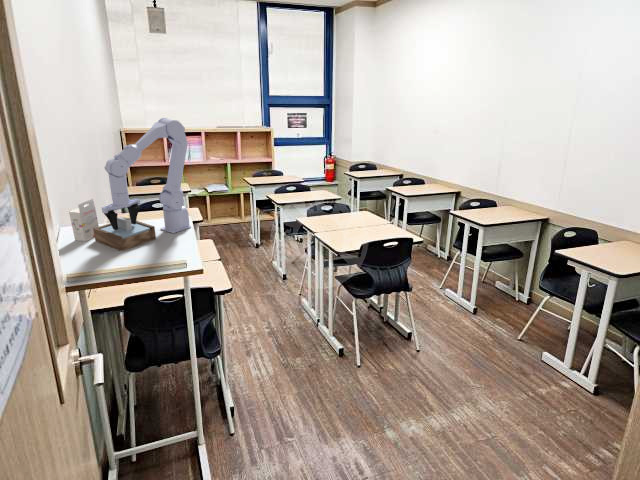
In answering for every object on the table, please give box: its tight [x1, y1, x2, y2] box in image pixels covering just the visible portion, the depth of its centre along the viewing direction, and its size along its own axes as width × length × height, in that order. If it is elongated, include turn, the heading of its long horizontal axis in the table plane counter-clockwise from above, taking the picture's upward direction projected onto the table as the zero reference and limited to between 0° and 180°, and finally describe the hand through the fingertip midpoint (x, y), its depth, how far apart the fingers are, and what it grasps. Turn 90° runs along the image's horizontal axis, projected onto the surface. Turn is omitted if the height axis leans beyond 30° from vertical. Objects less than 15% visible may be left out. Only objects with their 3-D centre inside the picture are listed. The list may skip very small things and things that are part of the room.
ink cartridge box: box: [68, 198, 100, 242], centre depth 166 cm, size 9×5×15 cm, turn 168°
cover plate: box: [101, 216, 150, 239], centre depth 164 cm, size 12×14×5 cm
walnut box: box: [93, 217, 157, 252], centre depth 166 cm, size 15×16×5 cm
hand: (124, 226), depth 165 cm, fingers open, 7 cm apart
